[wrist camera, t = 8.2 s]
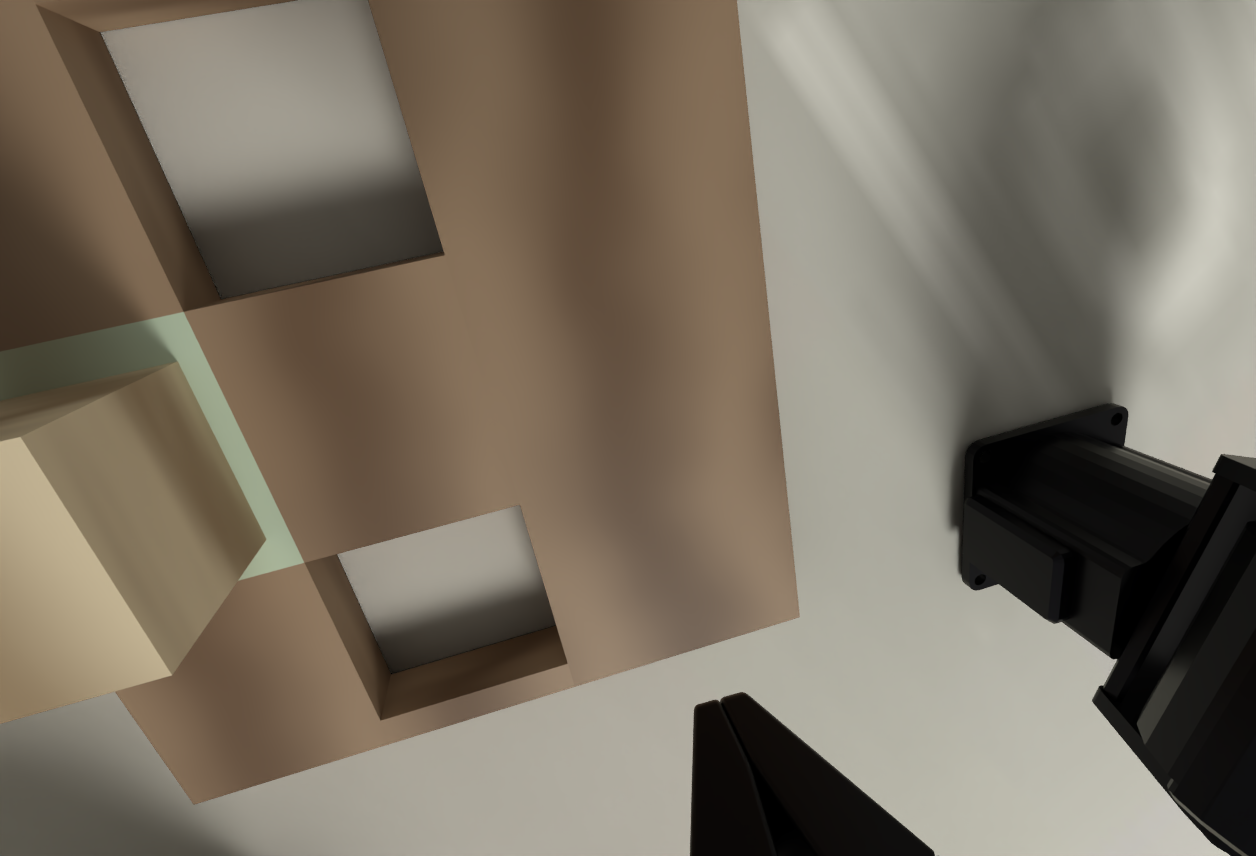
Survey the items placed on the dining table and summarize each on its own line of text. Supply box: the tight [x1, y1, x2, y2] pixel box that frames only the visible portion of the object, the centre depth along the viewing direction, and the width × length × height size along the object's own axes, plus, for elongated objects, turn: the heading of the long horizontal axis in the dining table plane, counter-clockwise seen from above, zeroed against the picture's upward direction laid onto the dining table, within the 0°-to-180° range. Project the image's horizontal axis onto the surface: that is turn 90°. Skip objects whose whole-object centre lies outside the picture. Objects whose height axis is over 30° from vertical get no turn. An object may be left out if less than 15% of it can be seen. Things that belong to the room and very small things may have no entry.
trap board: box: [0, 0, 800, 804], centre depth 16 cm, size 20×21×2 cm
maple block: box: [0, 361, 267, 724], centre depth 12 cm, size 5×5×5 cm
